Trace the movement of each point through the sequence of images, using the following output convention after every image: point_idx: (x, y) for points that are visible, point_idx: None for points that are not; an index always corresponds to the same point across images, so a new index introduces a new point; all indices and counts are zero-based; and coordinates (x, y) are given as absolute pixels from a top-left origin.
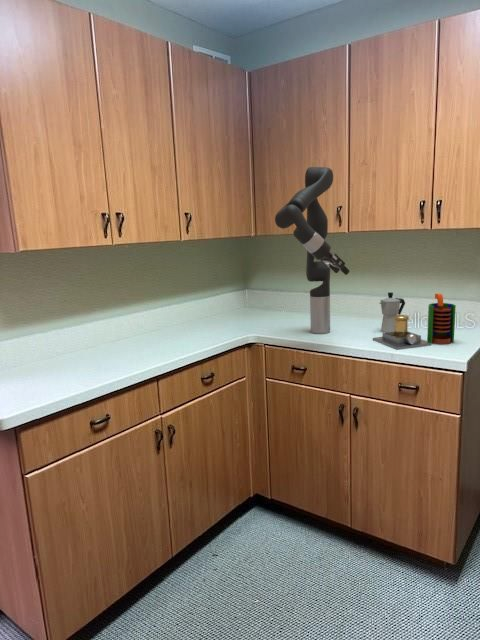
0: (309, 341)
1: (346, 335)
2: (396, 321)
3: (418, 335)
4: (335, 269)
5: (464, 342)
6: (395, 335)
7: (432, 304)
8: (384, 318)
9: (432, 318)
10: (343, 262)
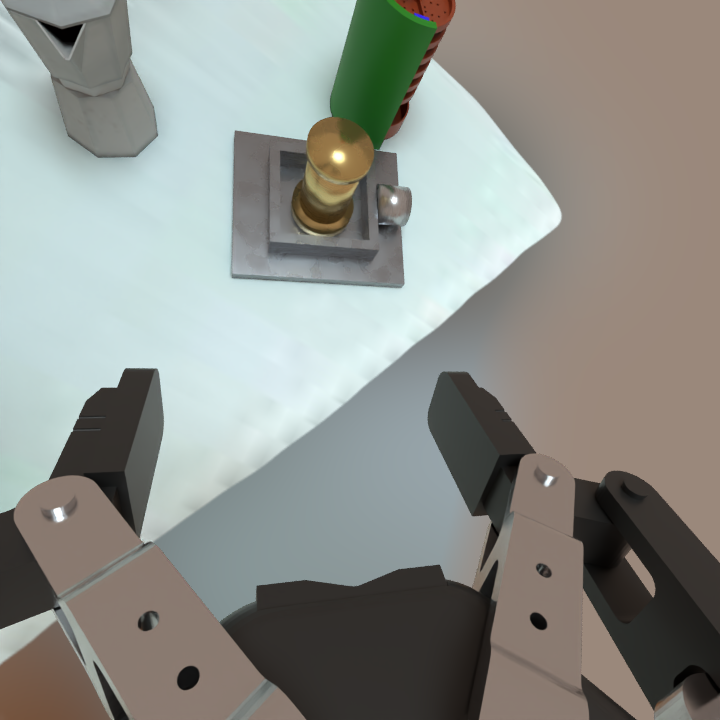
0: None
1: (81, 329)
2: (341, 186)
3: None
4: (150, 442)
5: None
6: (323, 220)
7: None
8: (93, 101)
9: (413, 73)
10: (668, 519)
